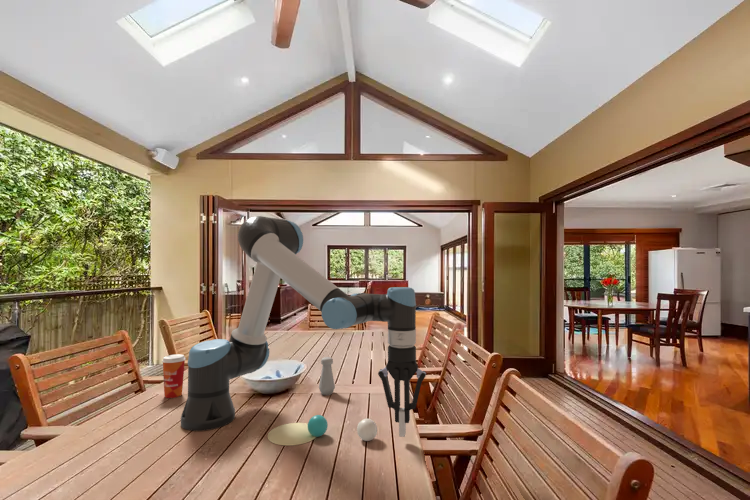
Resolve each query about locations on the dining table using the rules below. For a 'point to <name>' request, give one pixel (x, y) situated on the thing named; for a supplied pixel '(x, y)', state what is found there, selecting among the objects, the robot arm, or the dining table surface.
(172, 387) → the paper cup
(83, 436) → the dining table surface
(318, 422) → the teal ball
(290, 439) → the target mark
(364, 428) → the cue ball
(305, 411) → the dining table surface
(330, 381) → the salt shaker
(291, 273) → the robot arm
